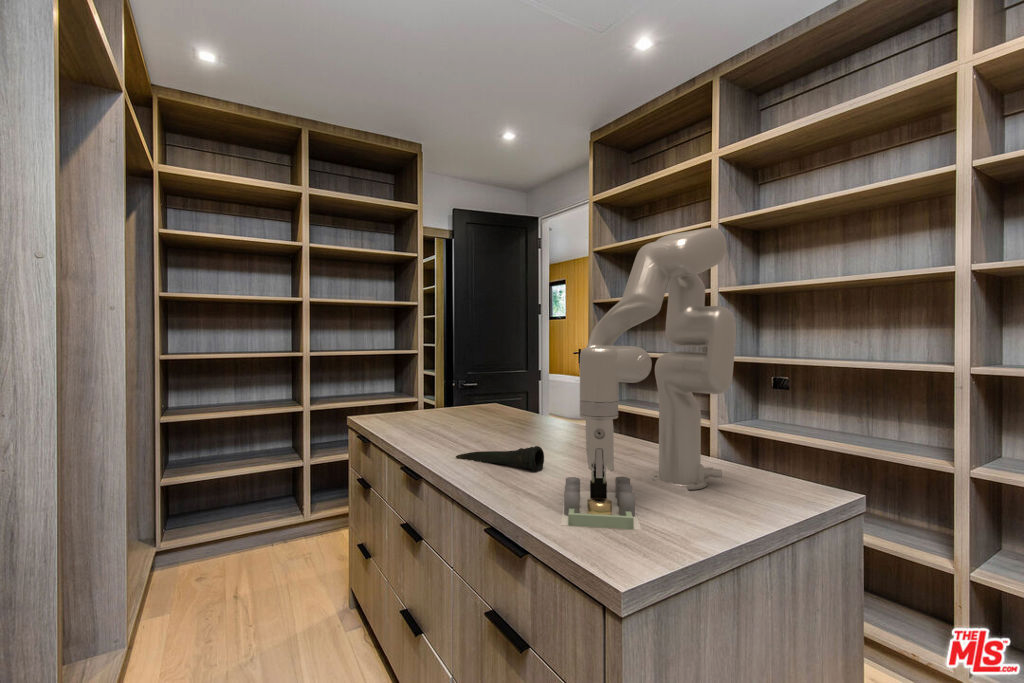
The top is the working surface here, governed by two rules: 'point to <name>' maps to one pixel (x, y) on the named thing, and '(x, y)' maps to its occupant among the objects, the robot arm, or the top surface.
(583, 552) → the top surface
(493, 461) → the tool
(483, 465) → the top surface
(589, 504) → the gold short round piece
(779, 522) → the top surface
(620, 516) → the board
